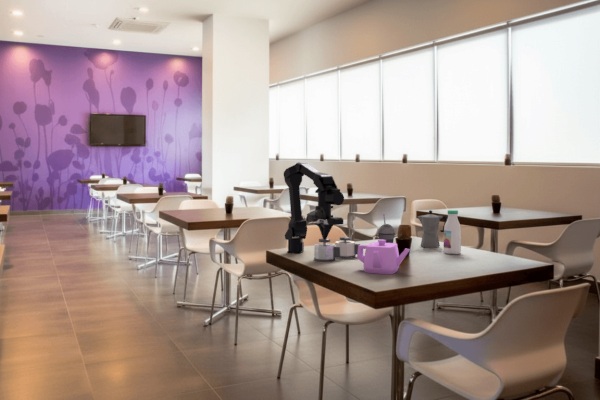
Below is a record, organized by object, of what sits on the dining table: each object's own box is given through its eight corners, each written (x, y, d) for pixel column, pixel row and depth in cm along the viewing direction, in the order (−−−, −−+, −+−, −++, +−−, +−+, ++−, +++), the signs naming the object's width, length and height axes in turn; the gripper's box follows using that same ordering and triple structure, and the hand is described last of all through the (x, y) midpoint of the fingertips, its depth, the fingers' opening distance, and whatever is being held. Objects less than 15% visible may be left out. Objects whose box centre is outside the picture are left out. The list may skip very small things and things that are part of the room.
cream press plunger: (338, 251, 256) (338, 238, 256) (340, 249, 261) (340, 236, 260) (349, 252, 255) (349, 238, 254) (351, 250, 259) (351, 237, 259)
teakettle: (387, 265, 238) (388, 235, 237) (412, 272, 223) (412, 241, 222) (352, 268, 231) (352, 238, 230) (374, 276, 216) (374, 244, 215)
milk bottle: (459, 251, 268) (459, 209, 267) (462, 254, 261) (462, 211, 259) (442, 251, 269) (442, 209, 267) (444, 254, 261) (445, 210, 260)
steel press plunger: (317, 253, 249) (317, 239, 248) (320, 251, 253) (320, 238, 253) (328, 254, 247) (328, 240, 247) (331, 252, 252) (331, 238, 251)
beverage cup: (394, 261, 245) (394, 215, 244) (377, 260, 247) (377, 214, 245) (395, 258, 253) (395, 213, 251) (378, 257, 254) (378, 213, 252)
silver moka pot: (311, 260, 247) (311, 246, 247) (317, 257, 256) (317, 242, 256) (337, 262, 244) (337, 247, 244) (342, 258, 253) (342, 243, 252)
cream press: (332, 257, 255) (332, 243, 254) (337, 254, 264) (337, 240, 263) (358, 258, 252) (358, 244, 251) (361, 255, 261) (362, 241, 260)
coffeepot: (415, 247, 282) (415, 210, 281) (418, 244, 291) (418, 209, 290) (447, 248, 277) (447, 211, 275) (449, 245, 286) (449, 210, 284)
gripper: (296, 203, 251) (296, 238, 252) (324, 206, 236) (324, 243, 238) (316, 201, 258) (316, 236, 259) (344, 204, 243) (344, 241, 244)
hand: (324, 239), depth 250 cm, fingers closed, pressing on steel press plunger
